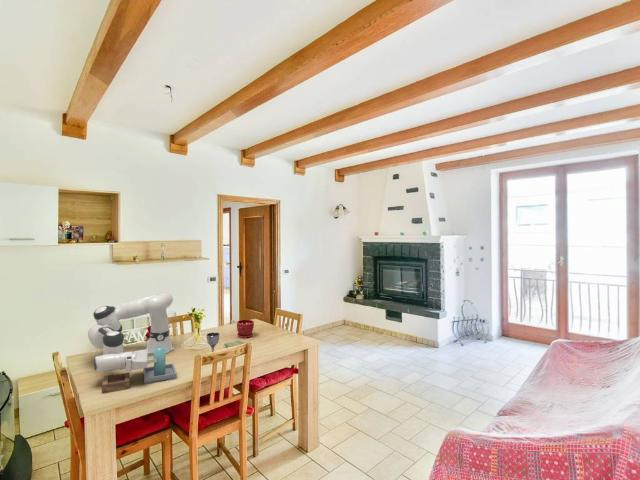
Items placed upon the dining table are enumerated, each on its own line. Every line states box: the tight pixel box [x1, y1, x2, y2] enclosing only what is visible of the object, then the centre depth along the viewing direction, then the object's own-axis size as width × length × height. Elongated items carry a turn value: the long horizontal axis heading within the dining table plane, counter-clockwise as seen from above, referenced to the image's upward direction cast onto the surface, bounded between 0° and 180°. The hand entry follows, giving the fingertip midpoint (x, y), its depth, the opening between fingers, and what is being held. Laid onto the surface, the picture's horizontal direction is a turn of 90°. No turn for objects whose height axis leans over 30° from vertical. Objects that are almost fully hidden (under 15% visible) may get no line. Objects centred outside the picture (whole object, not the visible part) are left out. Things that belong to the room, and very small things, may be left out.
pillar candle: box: [153, 346, 167, 376], centre depth 193 cm, size 6×6×15 cm
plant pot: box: [236, 319, 255, 339], centre depth 269 cm, size 13×13×12 cm
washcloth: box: [223, 340, 245, 349], centre depth 243 cm, size 13×18×3 cm
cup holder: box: [101, 371, 131, 394], centre depth 180 cm, size 12×12×4 cm
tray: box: [142, 363, 178, 385], centre depth 194 cm, size 16×16×3 cm
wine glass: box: [206, 331, 220, 353], centre depth 224 cm, size 8×8×15 cm
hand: (156, 356), depth 192 cm, fingers open, 8 cm apart
